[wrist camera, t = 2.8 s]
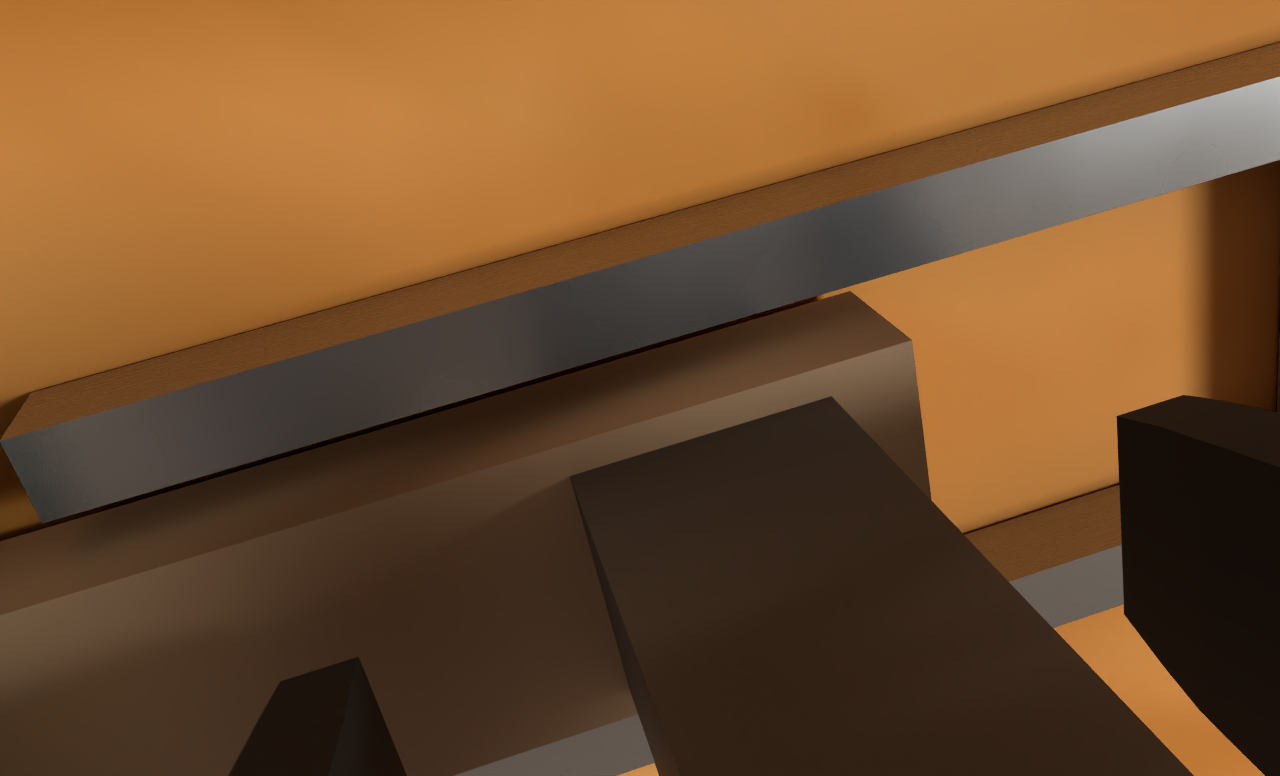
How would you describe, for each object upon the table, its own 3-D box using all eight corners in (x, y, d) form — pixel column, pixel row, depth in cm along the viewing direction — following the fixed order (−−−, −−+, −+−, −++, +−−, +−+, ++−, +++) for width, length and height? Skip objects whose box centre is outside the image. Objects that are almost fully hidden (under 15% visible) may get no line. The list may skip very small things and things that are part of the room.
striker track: (1358, 20, 12) (1443, 30, 11) (1333, 470, 14) (1400, 510, 13) (32, 392, 10) (0, 440, 9) (249, 829, 12) (241, 901, 12)
